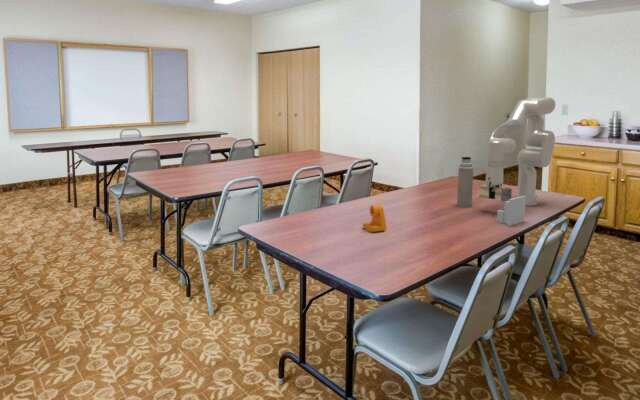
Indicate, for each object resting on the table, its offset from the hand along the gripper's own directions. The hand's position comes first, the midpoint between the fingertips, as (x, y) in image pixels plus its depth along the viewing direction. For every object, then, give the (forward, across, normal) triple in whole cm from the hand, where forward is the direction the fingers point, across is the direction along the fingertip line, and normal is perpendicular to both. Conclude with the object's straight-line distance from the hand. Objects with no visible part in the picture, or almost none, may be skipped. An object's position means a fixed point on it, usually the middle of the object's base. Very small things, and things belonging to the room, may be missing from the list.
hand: (494, 197), depth 266 cm
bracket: (+6, +70, -19) cm, 73 cm away
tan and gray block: (+1, 0, 0) cm, 1 cm away
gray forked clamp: (+8, +10, +15) cm, 20 cm away
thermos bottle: (+9, -3, -21) cm, 23 cm away
